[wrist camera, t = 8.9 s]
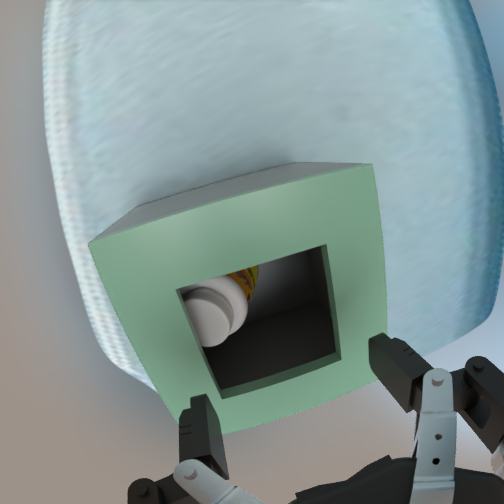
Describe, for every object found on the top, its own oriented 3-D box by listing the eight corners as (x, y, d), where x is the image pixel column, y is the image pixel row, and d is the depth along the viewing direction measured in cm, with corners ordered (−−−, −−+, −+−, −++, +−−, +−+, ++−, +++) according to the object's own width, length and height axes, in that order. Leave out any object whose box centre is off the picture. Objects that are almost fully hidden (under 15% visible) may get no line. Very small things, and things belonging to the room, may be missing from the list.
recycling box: (136, 206, 27) (87, 243, 14) (294, 162, 29) (372, 163, 15) (187, 344, 32) (190, 441, 19) (322, 302, 34) (386, 375, 20)
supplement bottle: (263, 289, 29) (247, 356, 20) (209, 292, 30) (174, 355, 21) (255, 235, 28) (233, 285, 18) (198, 240, 29) (153, 289, 19)
